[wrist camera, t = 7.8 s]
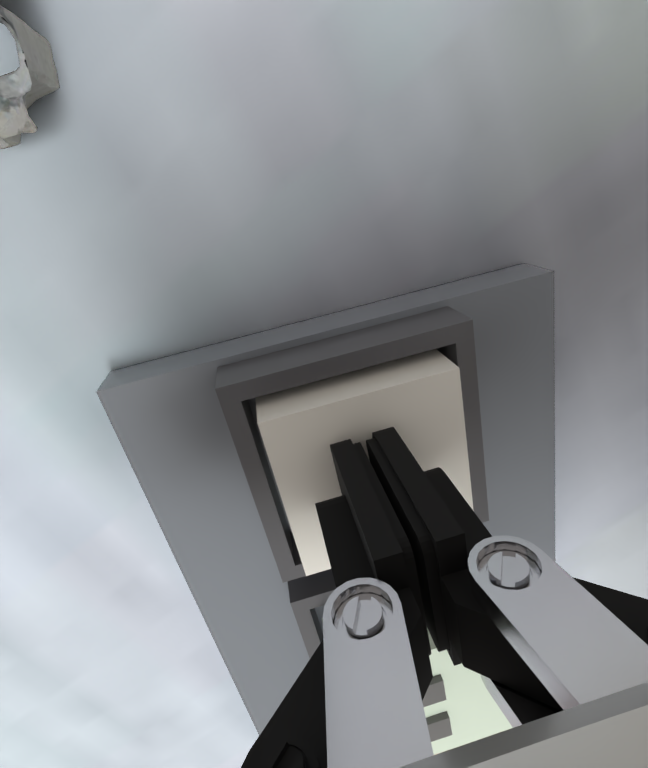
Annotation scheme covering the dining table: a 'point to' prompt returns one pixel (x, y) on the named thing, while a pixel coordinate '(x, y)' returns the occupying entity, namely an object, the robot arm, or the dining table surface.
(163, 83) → the dining table surface
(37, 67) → the egg carton
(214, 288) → the dining table surface
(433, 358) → the tile
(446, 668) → the tile
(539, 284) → the keypad board
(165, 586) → the dining table surface
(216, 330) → the dining table surface
